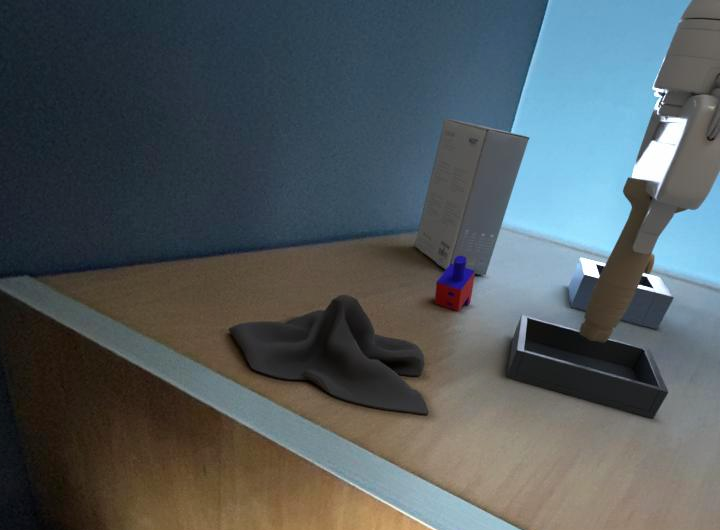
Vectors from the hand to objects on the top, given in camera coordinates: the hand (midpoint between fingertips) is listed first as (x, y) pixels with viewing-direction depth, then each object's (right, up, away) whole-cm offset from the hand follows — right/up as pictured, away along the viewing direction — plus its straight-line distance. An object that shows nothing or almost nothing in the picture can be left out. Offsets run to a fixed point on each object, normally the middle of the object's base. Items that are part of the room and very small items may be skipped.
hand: (635, 246), depth 57 cm
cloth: (-29, -12, 0) cm, 32 cm away
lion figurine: (+26, +17, +52) cm, 61 cm away
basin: (-2, -11, +8) cm, 14 cm away
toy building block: (-14, +2, +22) cm, 26 cm away
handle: (-2, -8, +6) cm, 10 cm away
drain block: (+15, +7, +37) cm, 40 cm away
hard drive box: (-10, +17, +43) cm, 47 cm away
